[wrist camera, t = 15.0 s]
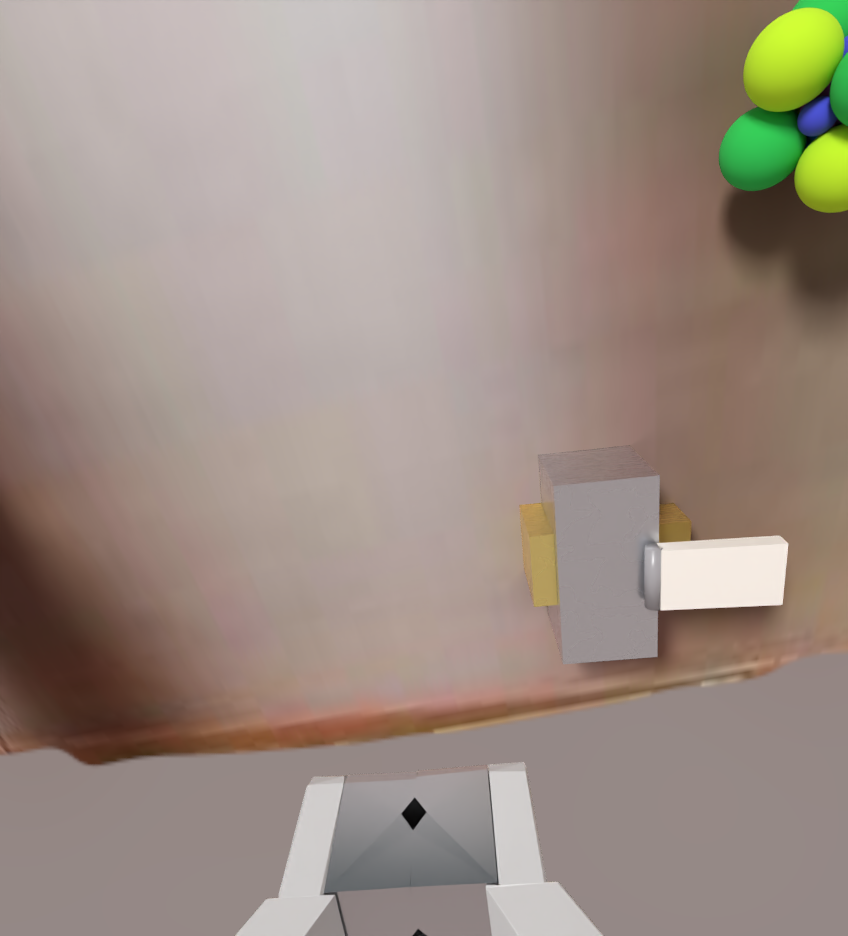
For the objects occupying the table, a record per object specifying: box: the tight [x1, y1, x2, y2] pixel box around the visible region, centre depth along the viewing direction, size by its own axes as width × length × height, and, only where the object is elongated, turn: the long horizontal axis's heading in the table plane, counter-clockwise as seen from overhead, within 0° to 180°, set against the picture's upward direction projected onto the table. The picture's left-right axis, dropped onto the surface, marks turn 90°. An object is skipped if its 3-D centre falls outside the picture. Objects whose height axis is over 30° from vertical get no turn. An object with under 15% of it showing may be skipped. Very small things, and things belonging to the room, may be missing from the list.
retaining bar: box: [644, 536, 788, 611], centre depth 34 cm, size 1×4×8 cm
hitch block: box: [538, 446, 660, 664], centre depth 38 cm, size 6×12×6 cm, turn 7°
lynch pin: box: [519, 503, 691, 607], centre depth 38 cm, size 10×5×5 cm, turn 97°
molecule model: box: [719, 0, 848, 213], centre depth 27 cm, size 8×8×8 cm
